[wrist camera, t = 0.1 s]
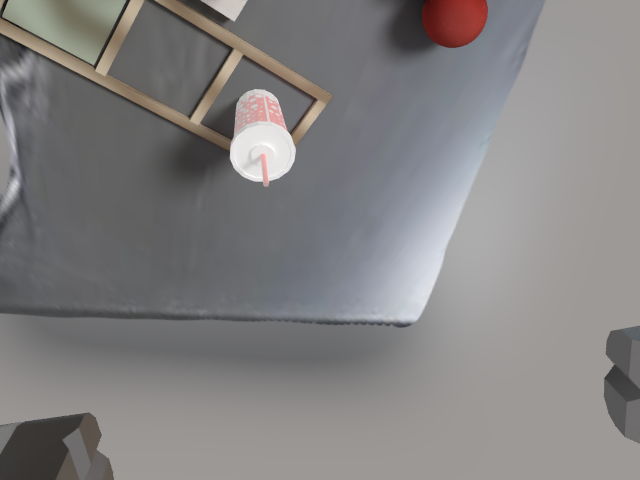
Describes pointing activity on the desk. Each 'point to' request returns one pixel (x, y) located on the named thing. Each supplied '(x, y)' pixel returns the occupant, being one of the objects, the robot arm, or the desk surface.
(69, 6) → the wooden window frame
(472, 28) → the kendama
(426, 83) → the desk surface
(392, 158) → the desk surface
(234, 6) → the dome housing
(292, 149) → the beverage cup
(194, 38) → the desk surface
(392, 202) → the desk surface
